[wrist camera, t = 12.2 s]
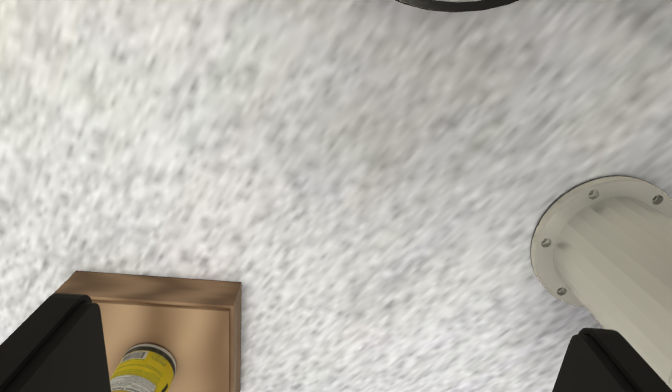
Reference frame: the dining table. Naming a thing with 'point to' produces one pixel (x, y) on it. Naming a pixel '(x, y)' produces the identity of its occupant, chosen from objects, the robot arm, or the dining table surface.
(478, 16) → the dining table surface
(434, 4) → the drone
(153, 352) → the supplement bottle
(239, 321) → the walnut stand
